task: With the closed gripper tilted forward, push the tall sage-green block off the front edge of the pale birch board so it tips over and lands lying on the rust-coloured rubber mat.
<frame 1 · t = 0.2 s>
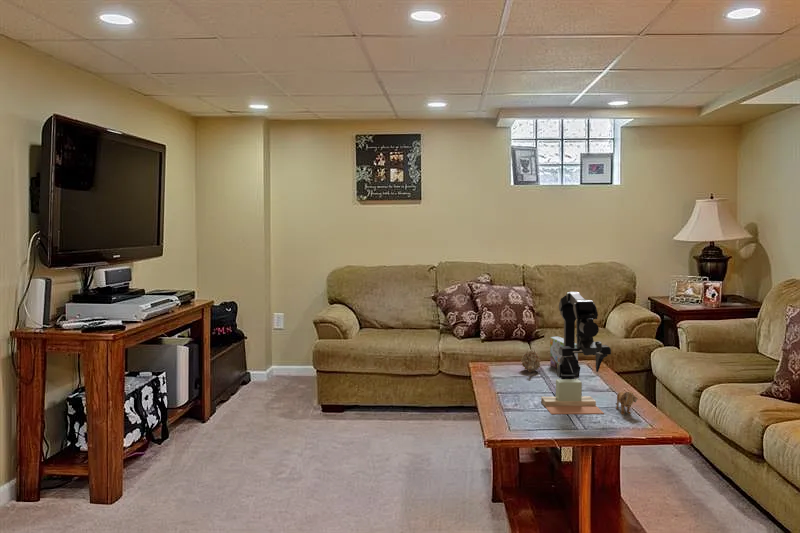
hand: (585, 372, 235), 15 cm above the table, tool pointing down, fingers open, 9 cm apart
snack box: (563, 370, 302), on the table
lion figurine: (624, 411, 234), on the table
rubber mat: (574, 410, 236), on the table
birch board: (568, 403, 244), on the table
green block: (568, 399, 244), point 2 cm above the table, touching birch board
pine cone: (531, 373, 297), on the table
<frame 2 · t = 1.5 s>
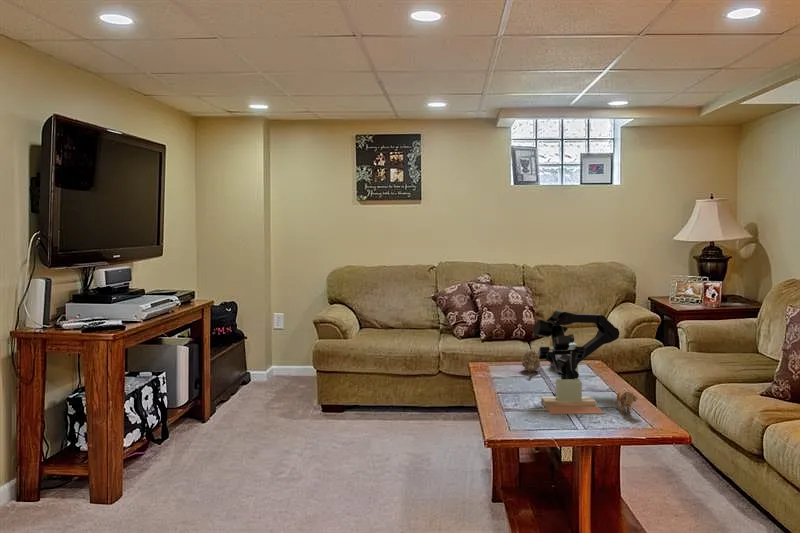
hand: (565, 370, 249), 13 cm above the table, tool tilted 45°, fingers open, 6 cm apart
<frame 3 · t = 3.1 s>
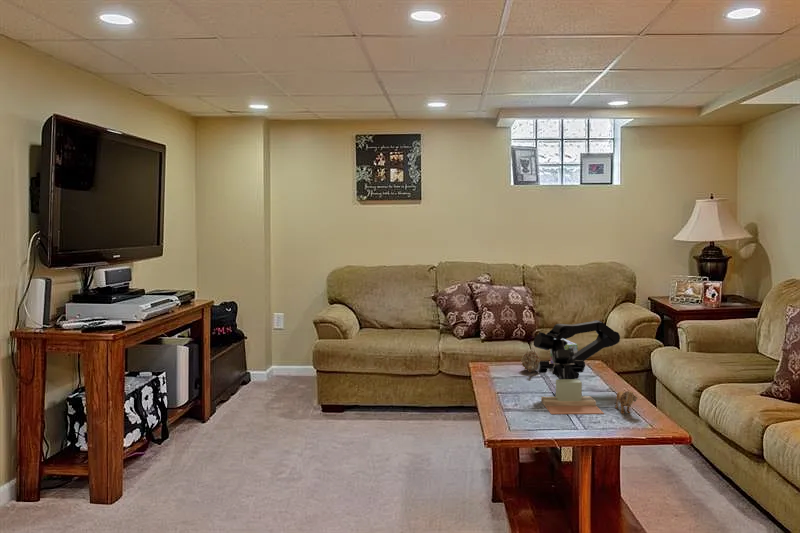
hand: (564, 384, 249), 7 cm above the table, tool tilted 45°, fingers closed
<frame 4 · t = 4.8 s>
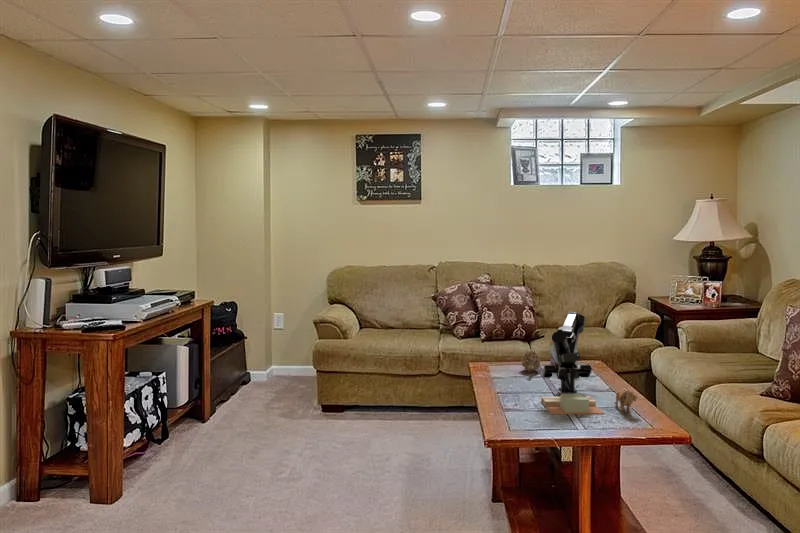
hand: (570, 389, 240), 7 cm above the table, tool tilted 45°, fingers closed
green block: (571, 400, 239), point 3 cm above the table, tilted 90°, touching rubber mat
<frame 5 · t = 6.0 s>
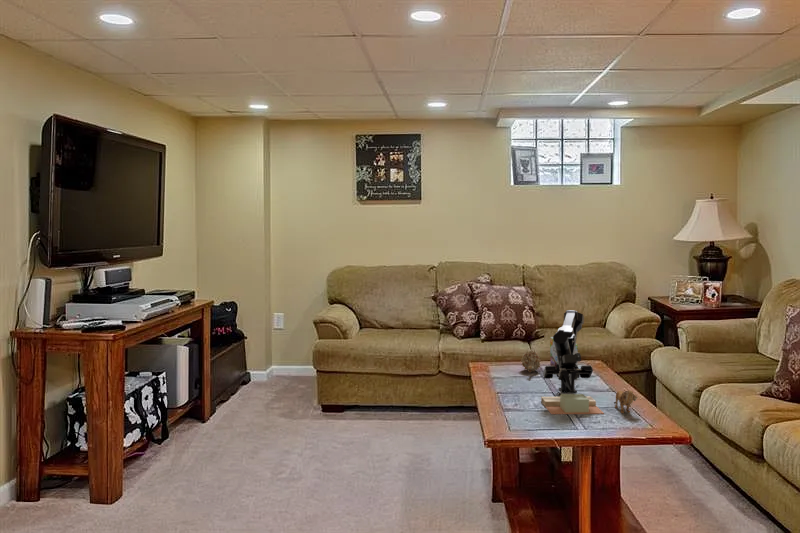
hand: (571, 390, 239), 7 cm above the table, tool tilted 45°, fingers closed
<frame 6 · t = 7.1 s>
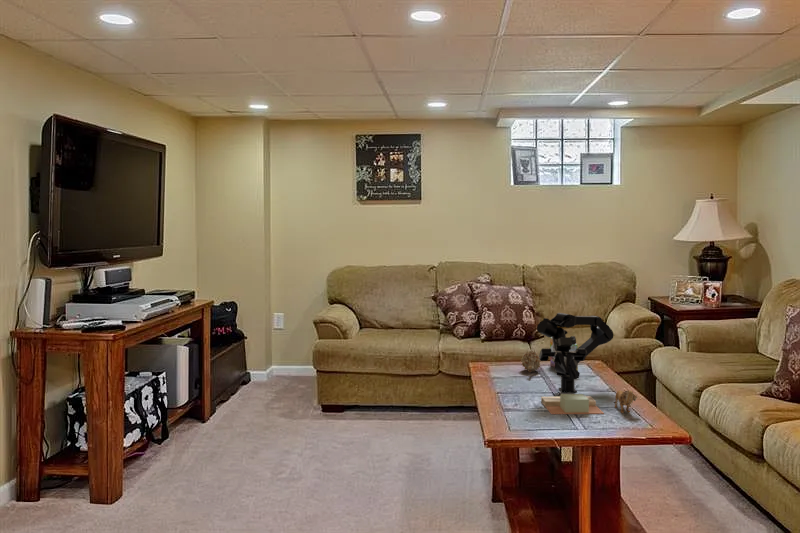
hand: (566, 372, 247), 12 cm above the table, tool tilted 45°, fingers closed
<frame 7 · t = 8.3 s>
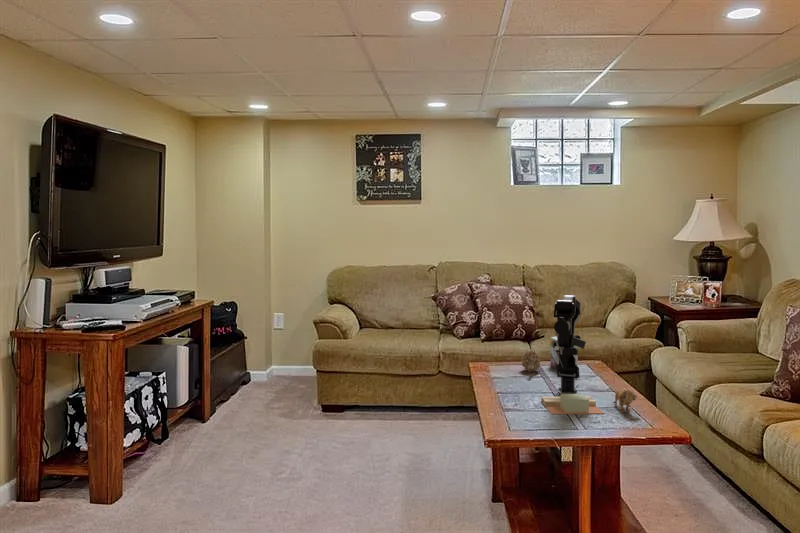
hand: (564, 368, 250), 13 cm above the table, tool pointing down, fingers closed
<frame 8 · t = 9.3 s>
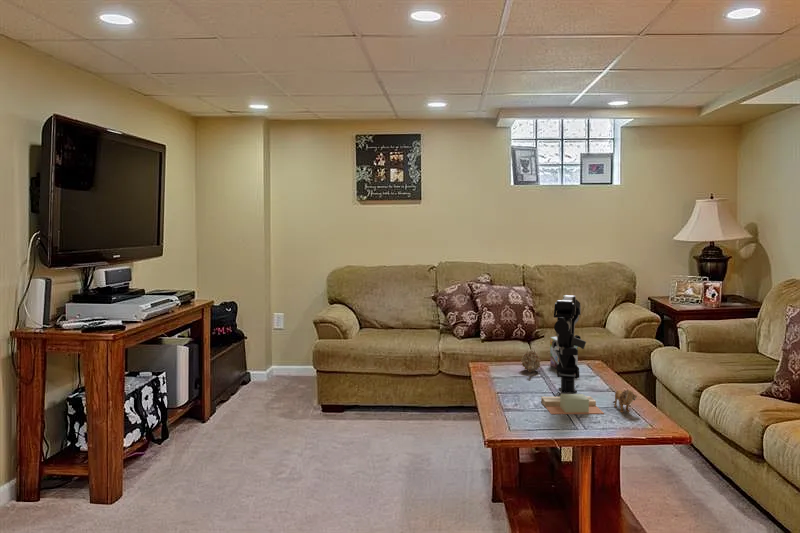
hand: (564, 368, 250), 13 cm above the table, tool pointing down, fingers closed
at the end: green block touching rubber mat; green block inside the target area (3.6 cm from its centre), point 2.8 cm above the table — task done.
